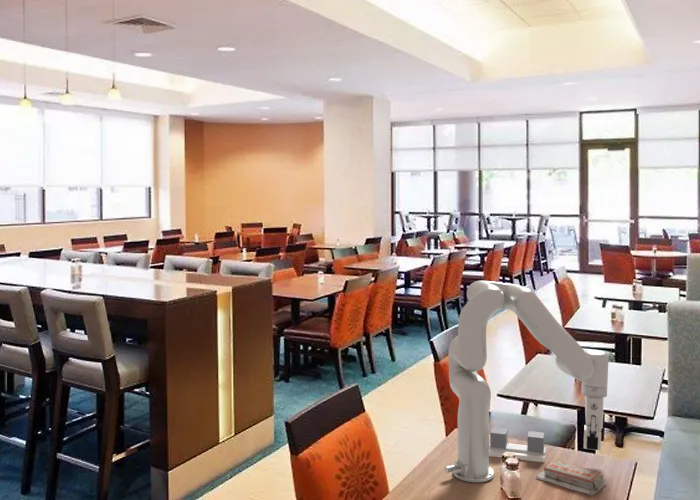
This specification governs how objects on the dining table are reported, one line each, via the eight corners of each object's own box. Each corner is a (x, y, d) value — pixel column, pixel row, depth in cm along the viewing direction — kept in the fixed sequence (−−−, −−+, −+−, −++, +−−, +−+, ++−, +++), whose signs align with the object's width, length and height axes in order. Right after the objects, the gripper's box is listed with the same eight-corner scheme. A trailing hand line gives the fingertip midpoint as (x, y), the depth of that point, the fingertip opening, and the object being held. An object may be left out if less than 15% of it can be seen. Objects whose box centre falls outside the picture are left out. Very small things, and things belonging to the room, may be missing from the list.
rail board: (488, 455, 220) (488, 434, 219) (491, 445, 228) (491, 425, 228) (544, 462, 214) (544, 440, 213) (546, 451, 222) (546, 430, 222)
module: (583, 448, 210) (584, 428, 209) (583, 442, 214) (584, 423, 214) (600, 450, 208) (601, 430, 207) (600, 445, 212) (601, 425, 212)
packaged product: (607, 470, 197) (593, 481, 190) (606, 485, 198) (593, 497, 190) (550, 454, 209) (535, 464, 202) (550, 469, 210) (535, 479, 203)
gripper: (607, 399, 200) (605, 457, 202) (606, 383, 216) (604, 437, 218) (581, 396, 203) (579, 454, 204) (582, 381, 219) (579, 434, 220)
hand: (592, 445), depth 211 cm, fingers closed on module, 5 cm apart
